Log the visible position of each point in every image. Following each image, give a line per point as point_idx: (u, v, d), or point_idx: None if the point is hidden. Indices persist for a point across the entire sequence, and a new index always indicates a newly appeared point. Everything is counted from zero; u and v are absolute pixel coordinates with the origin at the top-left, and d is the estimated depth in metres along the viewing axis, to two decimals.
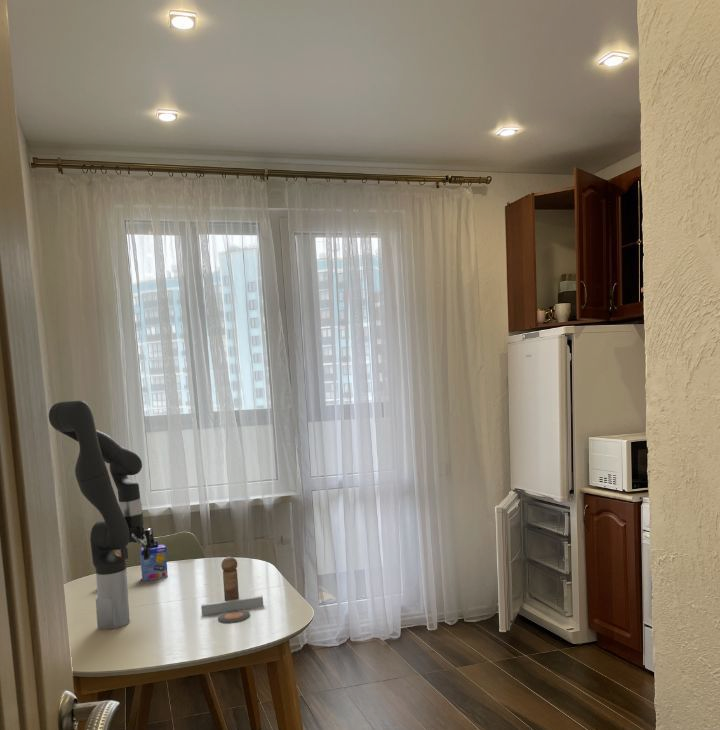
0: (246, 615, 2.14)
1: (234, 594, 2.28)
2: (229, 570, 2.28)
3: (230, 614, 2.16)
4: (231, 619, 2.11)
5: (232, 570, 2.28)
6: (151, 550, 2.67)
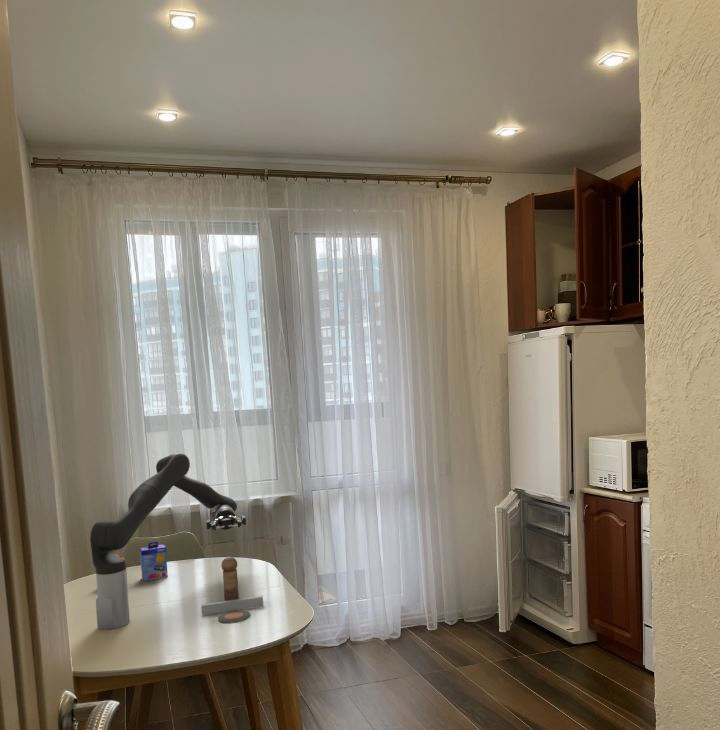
0: (246, 615, 2.14)
1: (234, 594, 2.28)
2: (229, 570, 2.28)
3: (230, 614, 2.16)
4: (231, 619, 2.11)
5: (232, 570, 2.28)
6: (151, 550, 2.67)
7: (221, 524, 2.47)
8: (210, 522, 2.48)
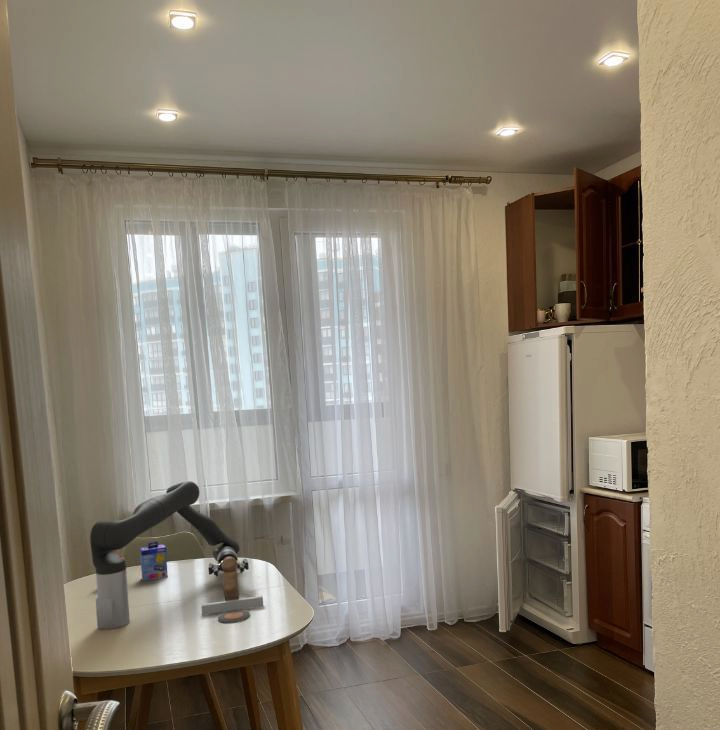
0: (246, 615, 2.14)
1: (234, 594, 2.28)
2: (229, 570, 2.28)
3: (230, 614, 2.16)
4: (231, 619, 2.11)
5: (232, 570, 2.28)
6: (151, 550, 2.67)
7: None
8: (212, 567, 2.45)
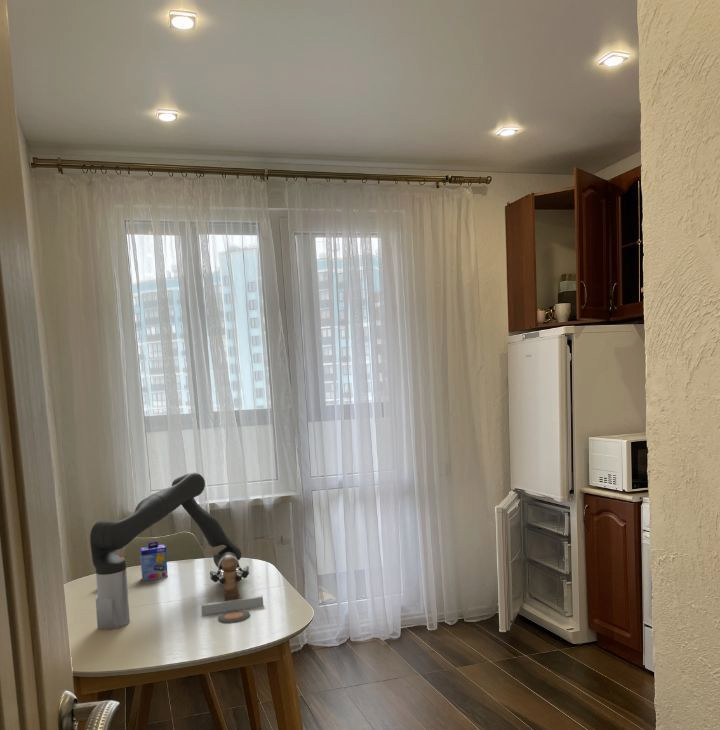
0: (246, 615, 2.14)
1: (234, 594, 2.28)
2: (229, 570, 2.28)
3: (230, 614, 2.16)
4: (231, 619, 2.11)
5: (232, 570, 2.28)
6: (151, 550, 2.66)
7: None
8: None
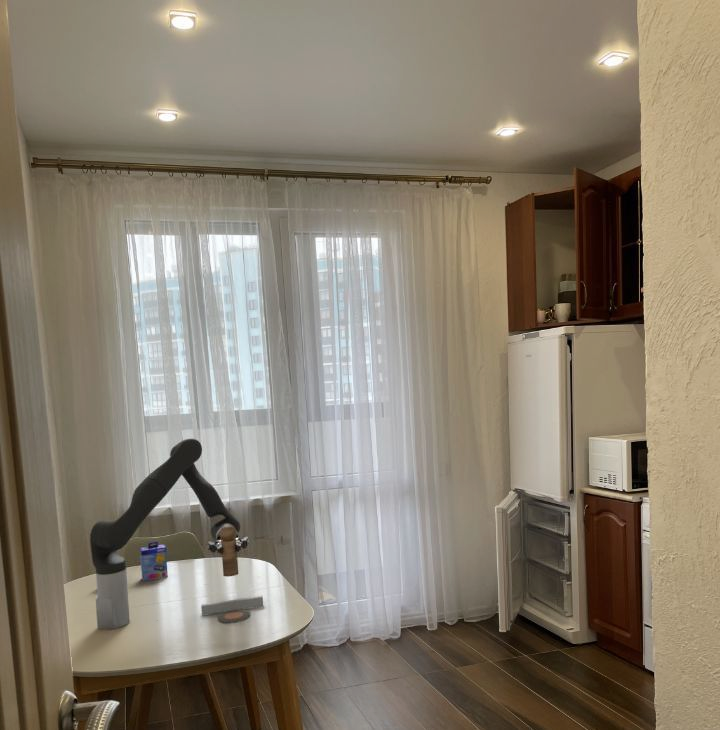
0: (246, 615, 2.14)
1: (233, 565, 2.15)
2: (228, 539, 2.15)
3: (230, 614, 2.16)
4: (231, 619, 2.11)
5: (231, 539, 2.15)
6: (151, 550, 2.66)
7: None
8: None
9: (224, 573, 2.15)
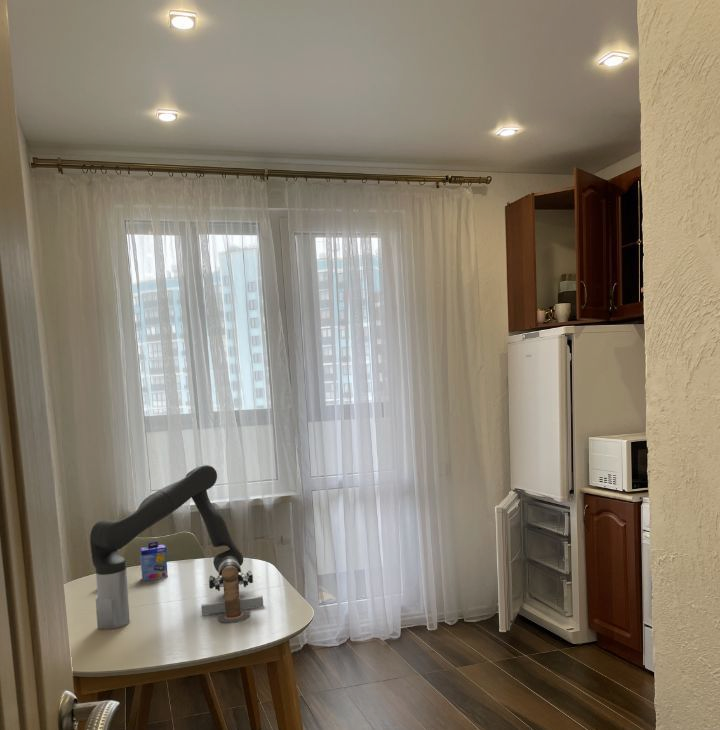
0: (246, 615, 2.14)
1: (236, 606, 2.13)
2: (230, 580, 2.13)
3: None
4: (231, 619, 2.11)
5: (233, 580, 2.14)
6: (151, 550, 2.66)
7: None
8: (213, 580, 2.20)
9: (227, 614, 2.14)
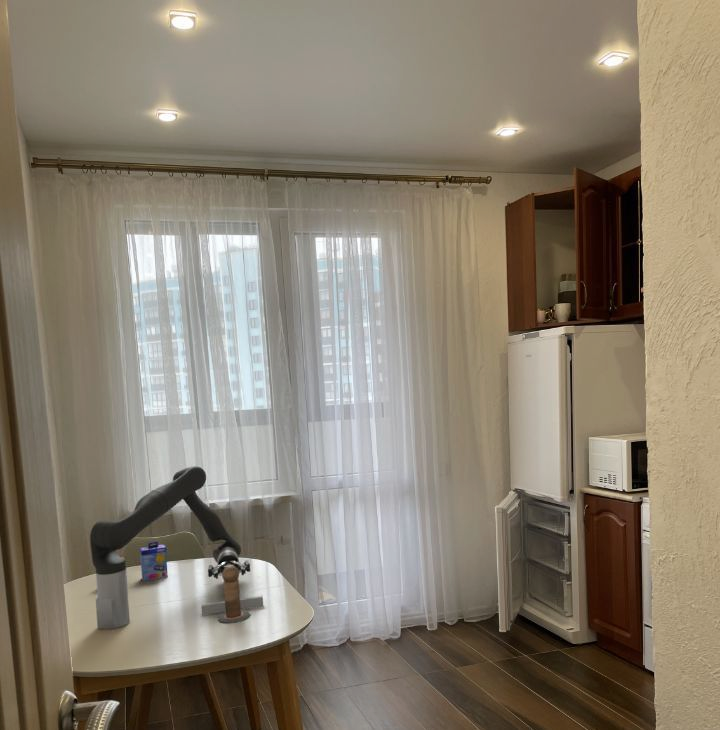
0: (246, 615, 2.14)
1: (236, 606, 2.13)
2: (230, 580, 2.13)
3: None
4: (231, 619, 2.11)
5: (233, 580, 2.14)
6: (151, 550, 2.67)
7: None
8: (212, 569, 2.33)
9: (227, 614, 2.14)
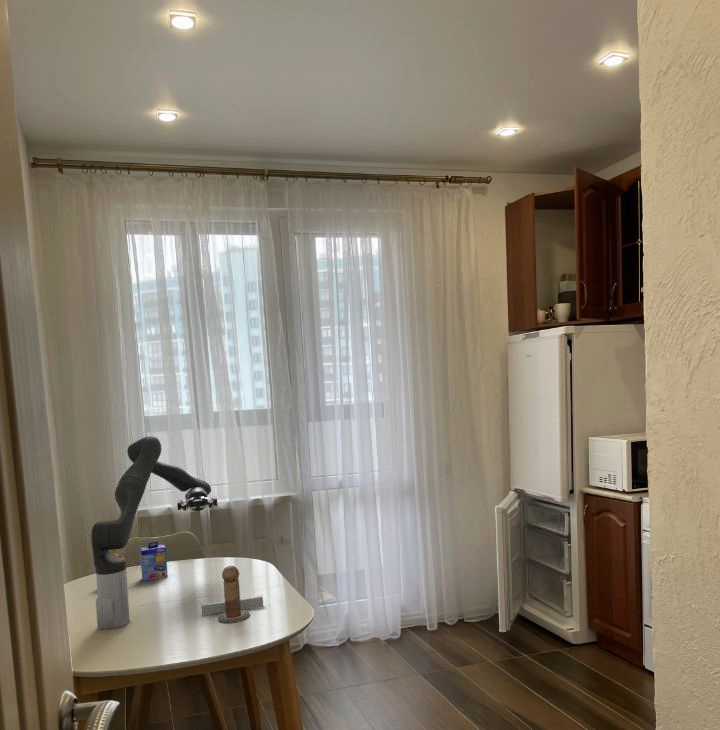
0: (246, 615, 2.14)
1: (236, 606, 2.13)
2: (230, 580, 2.13)
3: None
4: (231, 619, 2.11)
5: (233, 580, 2.14)
6: (151, 550, 2.67)
7: (192, 505, 2.46)
8: (181, 503, 2.47)
9: (227, 614, 2.14)
